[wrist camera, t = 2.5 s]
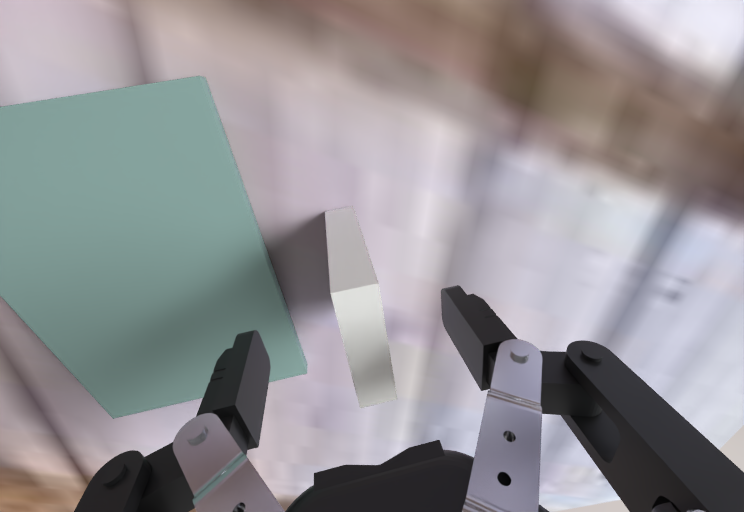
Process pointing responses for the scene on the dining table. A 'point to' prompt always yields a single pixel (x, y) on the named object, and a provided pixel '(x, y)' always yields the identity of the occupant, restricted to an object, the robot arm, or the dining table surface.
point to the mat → (135, 243)
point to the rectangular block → (358, 308)
